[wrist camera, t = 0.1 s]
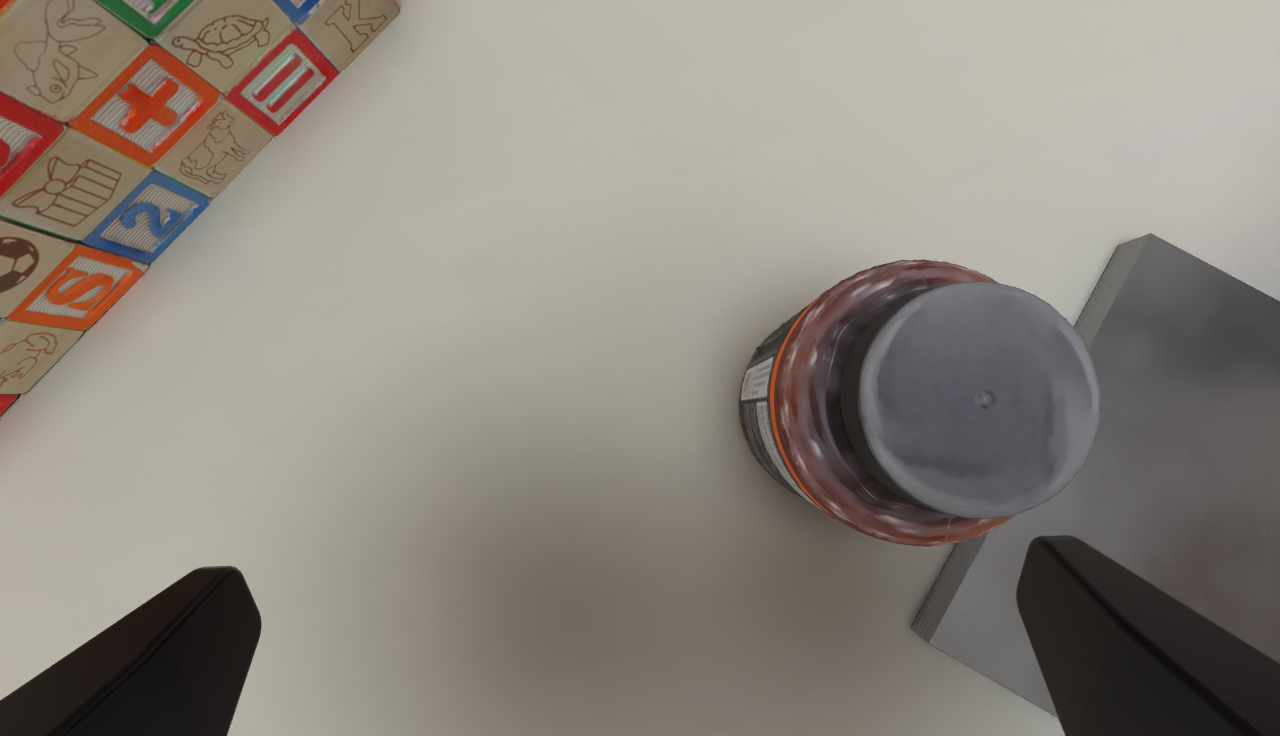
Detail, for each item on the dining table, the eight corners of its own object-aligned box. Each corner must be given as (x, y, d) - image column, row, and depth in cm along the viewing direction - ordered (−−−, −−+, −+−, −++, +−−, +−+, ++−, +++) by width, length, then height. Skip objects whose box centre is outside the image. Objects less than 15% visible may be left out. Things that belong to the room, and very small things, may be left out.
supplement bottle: (891, 293, 23) (1112, 178, 12) (943, 471, 23) (1224, 530, 11) (713, 340, 23) (763, 271, 12) (762, 519, 23) (862, 624, 11)
